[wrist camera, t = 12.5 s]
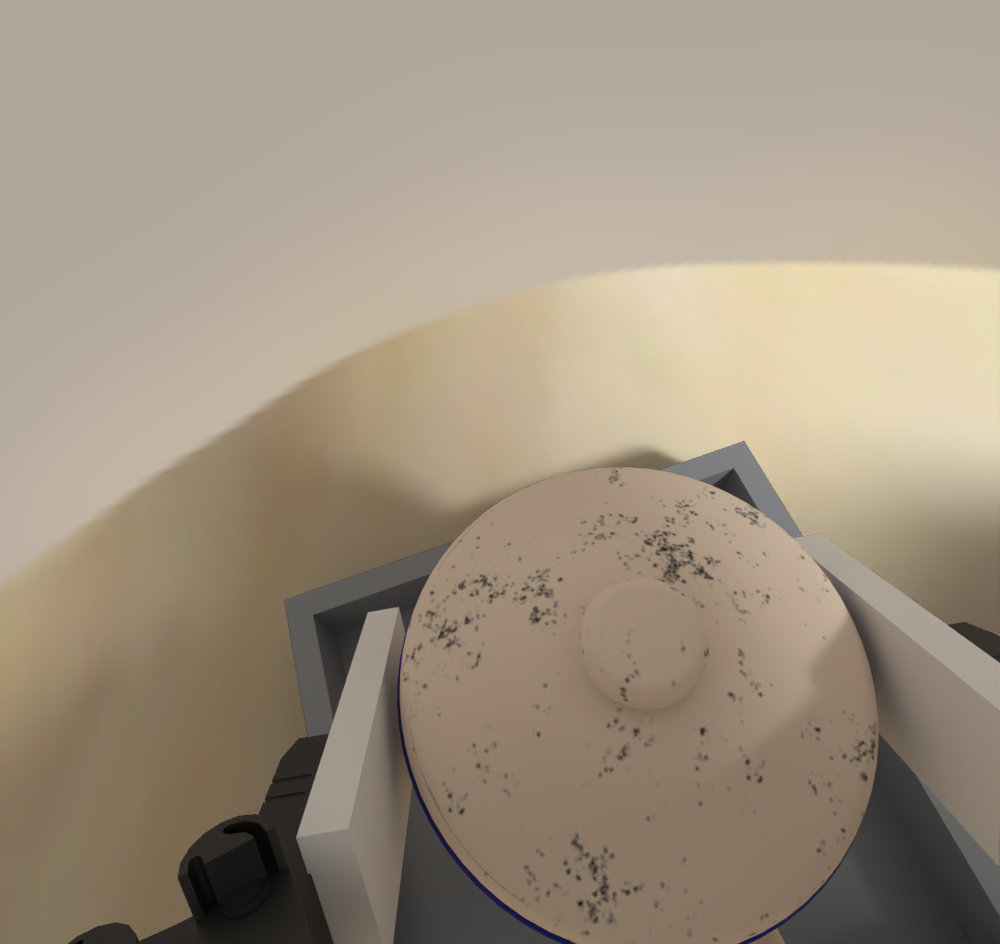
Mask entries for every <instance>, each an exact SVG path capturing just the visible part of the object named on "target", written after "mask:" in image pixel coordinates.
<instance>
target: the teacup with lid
mask: <svg viewBox="0 0 1000 944" xmlns="http://www.w3.org/2000/svg"><path fill="white" fill-rule="evenodd" d="M397 708H398V722H399V731H400V737H401V743H402V749H403V753H404V757H405V761H406V765H407V768H408V772H409V776H410V779H411V781H412V784H413V787H414V789H415V792H416V795H417V797H418V800H419V802H420V804H421V806H422V808H423V810H424V812H425V815H426V817H427V819H428V821H429V823H430V825H431V826H432V828H433V829H434V831H435V833H436V834H437V836H438V838H439V839H440V841H441V843H442V844H443V846H444V847H445V849H446V850H447V851H448V853H449V854H450V855H451V857H452V858H453V859H454V861H455V862H456V863H457V865H458V866H459V867H460V869H461V870H462V871H463V872H464V873H465V874H466V875H467V876H468V877H469V878H470V879H471V881H472V882H473V883H474V884H475V885H476V886H477V887H478V888H479V889H480V890H481V891H482V892H483V893H485V894H486V895H487V896H488V897H489V898H490V899H491V900H492V901H493V902H495V903H496V904H497V905H498V906H499V907H500V908H502V909H503V910H505V911H506V912H507V913H509V914H510V915H512V916H513V917H514V918H516V919H517V920H518V921H520V922H521V923H523V924H525V925H526V926H528V927H530V928H532V929H533V930H535V931H537V932H539V933H540V934H542V935H544V936H546V937H548V938H550V939H552V940H555V941H557V942H559V943H561V944H785V942H784V940H783V938H782V936H781V935H780V933H779V931H778V929H777V928H778V927H780V926H781V925H783V924H785V923H786V922H787V921H788V920H789V919H791V918H792V917H793V916H794V915H796V914H797V913H798V912H799V911H801V910H802V909H803V908H804V907H805V906H806V905H807V904H808V903H809V902H810V901H811V900H812V899H813V898H814V897H815V896H816V895H817V894H818V893H819V892H820V891H821V890H822V889H823V888H824V886H825V885H826V884H827V882H828V881H829V880H830V878H831V877H832V876H833V874H834V873H835V872H836V871H837V869H838V868H839V866H840V865H841V863H842V861H843V859H844V858H845V856H846V854H847V853H848V851H849V849H850V847H851V846H852V844H853V842H854V839H855V837H856V835H857V832H858V830H859V828H860V825H861V823H862V821H863V818H864V815H865V811H866V808H867V805H868V801H869V798H870V795H871V792H872V787H873V782H874V776H875V771H876V766H877V754H878V741H879V734H878V710H877V702H876V694H875V687H874V683H873V678H872V674H871V669H870V665H869V662H868V659H867V656H866V652H865V649H864V646H863V643H862V640H861V638H860V636H859V633H858V631H857V629H856V626H855V624H854V622H853V619H852V617H851V616H850V614H849V612H848V610H847V608H846V606H845V604H844V602H843V601H842V599H841V597H840V596H839V594H838V593H837V591H836V589H835V588H834V586H833V585H832V583H831V582H830V580H829V579H828V577H827V576H826V575H825V574H824V572H823V571H822V570H821V568H820V567H819V566H818V565H817V563H816V562H815V561H814V560H813V558H812V557H811V556H810V555H809V554H808V553H807V552H806V551H805V550H804V549H803V548H802V547H801V545H800V544H799V543H798V542H797V541H795V540H794V539H793V538H792V537H791V536H790V535H789V534H788V533H787V532H786V531H785V530H783V529H782V528H781V527H780V526H779V525H777V524H776V523H775V522H773V521H772V520H771V519H770V518H768V517H767V516H766V515H764V514H763V513H761V512H760V511H758V510H757V509H755V508H754V507H752V506H751V505H749V504H748V503H746V502H744V501H742V500H741V499H739V498H737V497H735V496H733V495H731V494H729V493H728V492H725V491H723V490H721V489H719V488H716V487H714V486H712V485H709V484H707V483H704V482H701V481H698V480H695V479H692V478H690V477H686V476H682V475H678V474H674V473H670V472H665V471H659V470H653V469H645V468H633V467H606V468H594V469H586V470H580V471H575V472H570V473H566V474H562V475H558V476H554V477H551V478H548V479H546V480H543V481H540V482H537V483H535V484H532V485H530V486H528V487H526V488H524V489H522V490H519V491H517V492H515V493H514V494H512V495H510V496H509V497H507V498H505V499H503V500H502V501H500V502H498V503H497V504H496V505H494V506H493V507H491V508H490V509H489V510H487V511H486V512H484V513H483V514H482V515H481V516H480V517H479V518H477V519H476V520H475V521H474V522H473V523H472V524H470V525H469V526H468V527H467V528H466V529H465V530H464V531H463V532H462V533H461V535H460V536H459V537H458V538H457V539H456V540H455V541H454V542H453V543H452V545H451V546H450V547H449V548H448V550H447V551H446V552H445V553H444V555H443V556H442V557H441V559H440V560H439V562H438V564H437V565H436V567H435V568H434V570H433V571H432V573H431V574H430V576H429V578H428V580H427V582H426V583H425V585H424V587H423V589H422V591H421V593H420V595H419V597H418V600H417V602H416V604H415V607H414V609H413V612H412V614H411V617H410V620H409V623H408V627H407V630H406V633H405V637H404V642H403V646H402V651H401V656H400V663H399V672H398V686H397Z"/></svg>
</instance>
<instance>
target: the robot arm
mask: <svg viewBox="0 0 1000 944" xmlns="http://www.w3.org/2000/svg"><path fill="white" fill-rule="evenodd" d="M793 539H794V540H795V541H797V542H798V543H799V544H800V545H801V547H802V548H803V549H804V550H805V551H806V552H807V553H808V554H809V555H810V556H811V557H812V558H813V560H814V561H815V562H816V563H817V565H818V566H819V567H820V568H821V570H822V571H823V572H824V574H825V575H826V576H827V577H828V579H829V580H830V582H831V583H832V585H833V586H834V588H835V589H836V591H837V593H838V594H839V596H840V597H841V599H842V601H843V602H844V604H845V606H846V608H847V610H848V612H849V614H850V616H851V617H852V619H853V622H854V624H855V626H856V629H857V631H858V633H859V636H860V638H861V640H862V643H863V646H864V649H865V652H866V656H867V659H868V662H869V665H870V669H871V674H872V678H873V683H874V687H875V694H876V702H877V710H878V733H879V734H880V735H881V736H882V737H883V739H884V740H885V741H886V742H887V743H888V744H889V745H890V746H891V747H892V749H893V750H894V751H895V752H896V753H897V754H898V755H899V756H900V757H901V759H902V760H903V761H904V762H905V763H906V764H907V765H908V766H909V767H910V769H911V770H912V771H913V772H914V773H915V774H916V775H917V776H918V777H919V779H920V780H921V781H922V782H923V783H924V784H925V785H926V786H927V787H928V789H929V790H930V791H931V792H932V793H933V794H934V795H935V796H936V797H937V799H938V800H939V801H940V802H941V803H942V804H943V805H944V806H945V807H946V809H947V810H948V811H949V812H950V813H951V814H952V815H953V816H954V817H955V819H956V820H957V821H958V822H959V823H960V824H961V825H962V826H963V827H964V829H965V830H966V831H967V832H968V833H969V834H970V835H971V836H972V838H973V839H974V840H975V841H976V842H977V843H978V844H979V845H980V846H981V848H982V849H983V850H984V851H985V852H986V853H987V854H988V855H989V856H990V858H991V859H992V860H993V861H994V862H995V863H996V864H997V865H1000V637H999V636H997V635H996V634H994V633H991V632H989V631H986V630H983V629H981V628H978V627H976V626H973V625H970V624H968V623H965V622H962V623H956V624H950V625H947V624H945V623H944V622H942V621H941V620H940V619H938V618H937V617H936V616H934V615H933V614H931V613H930V612H929V611H927V610H926V609H924V608H923V607H922V606H920V605H919V604H918V603H916V602H915V601H913V600H912V599H911V598H909V597H908V596H906V595H905V594H904V593H902V592H901V591H900V590H898V589H897V588H895V587H894V586H893V585H891V584H890V583H889V582H887V581H886V580H884V579H883V578H882V577H880V576H879V575H877V574H876V573H875V572H873V571H872V570H871V569H869V568H868V567H866V566H865V565H864V564H862V563H861V562H859V561H858V560H857V559H855V558H854V557H853V556H851V555H850V554H848V553H847V552H846V551H844V550H843V549H841V548H840V547H839V546H837V545H836V544H835V543H833V542H832V541H830V540H829V539H828V538H826V537H825V536H824V535H822V534H821V533H820V534H815V535H809V536H803V537H797V538H793ZM404 637H405V630H404V626H403V622H402V618H401V613H400V609H399V607H396V608H390V609H384V610H378V611H373V612H368V613H367V617H366V620H365V623H364V626H363V629H362V632H361V635H360V639H359V642H358V645H357V648H356V651H355V654H354V657H353V660H352V664H351V667H350V670H349V673H348V676H347V679H346V682H345V686H344V689H343V692H342V695H341V698H340V701H339V704H338V708H337V711H336V714H335V717H334V720H333V723H332V726H331V730H330V733H329V734H323V735H317V736H311V737H306V738H300V739H298V740H297V741H296V742H295V744H294V745H293V746H292V747H291V748H290V749H289V750H288V752H287V753H286V754H285V755H284V756H283V757H282V758H281V760H280V763H279V765H278V768H277V770H276V773H275V775H274V778H273V780H272V781H273V784H272V785H270V788H269V790H268V793H267V795H266V798H265V803H263V805H262V807H261V810H260V812H259V815H256V814H253V815H243V816H238V817H235V818H232V819H230V820H227V821H224V822H222V823H220V824H218V825H217V826H215V827H214V828H212V829H211V830H209V831H208V832H206V833H204V834H203V835H202V836H201V837H200V838H199V839H198V840H197V841H196V842H195V843H194V844H193V845H192V846H191V847H190V848H189V850H188V852H187V853H186V855H185V856H184V858H183V860H182V861H181V863H180V868H179V874H178V880H179V882H180V885H181V887H182V890H183V892H184V894H185V897H186V899H187V902H188V904H189V907H190V909H191V912H192V914H193V916H192V917H190V918H188V919H186V920H185V921H183V922H181V923H179V924H177V925H174V926H172V927H170V928H168V929H166V930H163V931H161V932H159V933H157V934H154V935H152V936H150V937H148V938H146V939H143V940H141V941H139V940H138V938H137V936H136V934H135V933H134V931H133V930H132V929H131V927H130V926H129V925H125V924H120V923H111V924H107V925H102V926H97V927H96V928H94V929H92V930H90V931H88V932H86V933H84V934H82V935H80V936H78V937H76V938H75V939H74V940H72V941H71V942H70V943H68V944H393V939H394V931H395V922H396V914H397V906H398V898H399V889H400V881H401V873H402V865H403V856H404V848H405V840H406V832H407V823H408V815H409V807H410V799H411V790H412V781H411V779H410V776H409V772H408V768H407V765H406V761H405V757H404V753H403V749H402V743H401V737H400V731H399V722H398V708H397V686H398V672H399V663H400V656H401V651H402V646H403V642H404Z"/></svg>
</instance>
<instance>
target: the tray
mask: <svg viewBox="0 0 1000 944" xmlns="http://www.w3.org/2000/svg"><path fill="white" fill-rule="evenodd" d="M659 471H665V472H670V473H674V474H678V475H682V476H686V477H690V478H692V479H695V480H698V481H701V482H704V483H707V484H709V485H712V486H714V487H716V488H719V489H721V490H723V491H725V492H728V493H729V494H731V495H733V496H735V497H737V498H739V499H741V500H742V501H744V502H746V503H748V504H749V505H751V506H752V507H754V508H755V509H757V510H758V511H760V512H761V513H763V514H764V515H766V516H767V517H768V518H770V519H771V520H772V521H773V522H775V523H776V524H777V525H779V526H780V527H781V528H782V529H783V530H785V531H786V532H787V533H788V534H789V535H790V536H791V537H792V538H797V537H803V535H802V534H801V532H800V531H799V529H798V527H797V526H796V524H795V522H794V521H793V519H792V518H791V516H790V514H789V513H788V511H787V510H786V508H785V506H784V505H783V503H782V501H781V500H780V498H779V497H778V495H777V493H776V492H775V490H774V488H773V487H772V485H771V484H770V482H769V480H768V479H767V477H766V475H765V474H764V472H763V471H762V469H761V467H760V466H759V464H758V462H757V461H756V459H755V458H754V456H753V454H752V453H751V451H750V450H749V448H748V446H747V445H746V443H745V441H742V442H740V443H737V444H734V445H731V446H728V447H725V448H722V449H719V450H716V451H714V452H711V453H708V454H705V455H702V456H699V457H696V458H693V459H690V460H688V461H685V462H682V463H679V464H676V465H673V466H670V467H667V468H664V469H662V470H659ZM453 542H454V541H453ZM453 542H450V543H448V544H445V545H442V546H439V547H436V548H433V549H430V550H427V551H424V552H422V553H419V554H416V555H413V556H410V557H407V558H404V559H401V560H398V561H396V562H393V563H390V564H387V565H384V566H381V567H378V568H375V569H372V570H370V571H367V572H364V573H361V574H358V575H355V576H352V577H349V578H346V579H344V580H341V581H338V582H335V583H332V584H329V585H326V586H323V587H320V588H318V589H315V590H312V591H309V592H306V593H303V594H300V595H297V596H294V597H292V598H289V599H286V600H284V603H285V608H286V614H287V620H288V626H289V631H290V637H291V643H292V649H293V654H294V660H295V666H296V672H297V677H298V683H299V689H300V695H301V700H302V706H303V712H304V717H305V723H306V729H307V735H308V737H311V736H317V735H323V734H329V733H330V730H331V726H332V723H333V720H334V717H335V714H336V711H337V708H338V704H339V701H340V698H341V695H342V692H343V689H344V686H345V682H346V679H347V676H348V673H349V670H350V667H351V664H352V660H353V657H354V654H355V651H356V648H357V645H358V642H359V639H360V635H361V632H362V629H363V626H364V623H365V620H366V617H367V613H368V612H373V611H378V610H384V609H390V608H396V607H399V609H400V613H401V618H402V622H403V626H404V630H405V633H406V630H407V627H408V623H409V620H410V617H411V614H412V612H413V609H414V607H415V604H416V602H417V600H418V597H419V595H420V593H421V591H422V589H423V587H424V585H425V583H426V582H427V580H428V578H429V576H430V574H431V573H432V571H433V570H434V568H435V567H436V565H437V564H438V562H439V560H440V559H441V557H442V556H443V555H444V553H445V552H446V551H447V550H448V548H449V547H450V546H451V545H452V543H453ZM878 734H879V733H878ZM777 929H778V931H779V933H780V935H781V936H782V938H783V940H784V942H785V944H1000V865H997V864H996V863H995V862H994V861H993V860H992V859H991V858H990V856H989V855H988V854H987V853H986V852H985V851H984V850H983V849H982V848H981V846H980V845H979V844H978V843H977V842H976V841H975V840H974V839H973V838H972V836H971V835H970V834H969V833H968V832H967V831H966V830H965V829H964V827H963V826H962V825H961V824H960V823H959V822H958V821H957V820H956V819H955V817H954V816H953V815H952V814H951V813H950V812H949V811H948V810H947V809H946V807H945V806H944V805H943V804H942V803H941V802H940V801H939V800H938V799H937V797H936V796H935V795H934V794H933V793H932V792H931V791H930V790H929V789H928V787H927V786H926V785H925V784H924V783H923V782H922V781H921V780H920V779H919V777H918V776H917V775H916V774H915V773H914V772H913V771H912V770H911V769H910V767H909V766H908V765H907V764H906V763H905V762H904V761H903V760H902V759H901V757H900V756H899V755H898V754H897V753H896V752H895V751H894V750H893V749H892V747H891V746H890V745H889V744H888V743H887V742H886V741H885V740H884V739H883V737H882V736H881V735H880V734H879V741H878V754H877V766H876V771H875V776H874V782H873V787H872V792H871V795H870V798H869V801H868V805H867V808H866V811H865V815H864V818H863V821H862V823H861V825H860V828H859V830H858V832H857V835H856V837H855V839H854V842H853V844H852V846H851V847H850V849H849V851H848V853H847V854H846V856H845V858H844V859H843V861H842V863H841V865H840V866H839V868H838V869H837V871H836V872H835V873H834V874H833V876H832V877H831V878H830V880H829V881H828V882H827V884H826V885H825V886H824V888H823V889H822V890H821V891H820V892H819V893H818V894H817V895H816V896H815V897H814V898H813V899H812V900H811V901H810V902H809V903H808V904H807V905H806V906H805V907H804V908H803V909H802V910H801V911H799V912H798V913H797V914H796V915H794V916H793V917H792V918H791V919H789V920H788V921H787V922H786V923H785V924H783V925H781V926H780V927H778V928H777ZM393 944H561V943H559V942H557V941H555V940H552V939H550V938H548V937H546V936H544V935H542V934H540V933H539V932H537V931H535V930H533V929H532V928H530V927H528V926H526V925H525V924H523V923H521V922H520V921H518V920H517V919H516V918H514V917H513V916H512V915H510V914H509V913H507V912H506V911H505V910H503V909H502V908H500V907H499V906H498V905H497V904H496V903H495V902H493V901H492V900H491V899H490V898H489V897H488V896H487V895H486V894H485V893H483V892H482V891H481V890H480V889H479V888H478V887H477V886H476V885H475V884H474V883H473V882H472V881H471V879H470V878H469V877H468V876H467V875H466V874H465V873H464V872H463V871H462V870H461V869H460V867H459V866H458V865H457V863H456V862H455V861H454V859H453V858H452V857H451V855H450V854H449V853H448V851H447V850H446V849H445V847H444V846H443V844H442V843H441V841H440V839H439V838H438V836H437V834H436V833H435V831H434V829H433V828H432V826H431V825H430V823H429V821H428V819H427V817H426V815H425V812H424V810H423V808H422V806H421V804H420V802H419V800H418V797H417V795H416V792H415V789H414V787H413V784H412V790H411V799H410V807H409V815H408V823H407V832H406V840H405V848H404V856H403V865H402V873H401V881H400V889H399V898H398V906H397V914H396V922H395V931H394V939H393Z"/></svg>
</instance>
